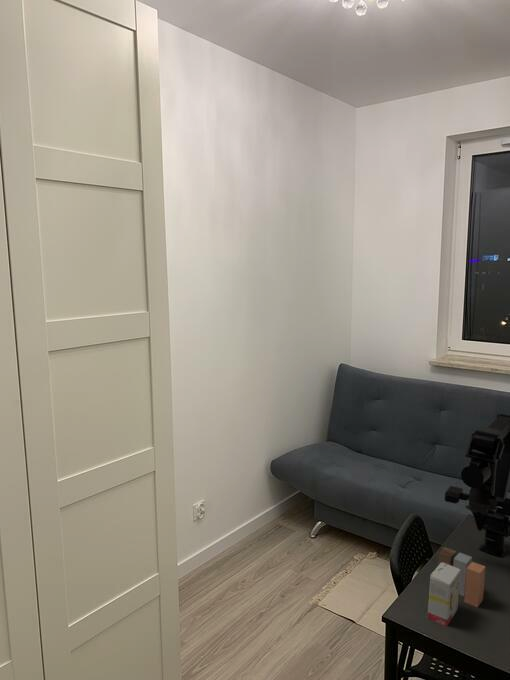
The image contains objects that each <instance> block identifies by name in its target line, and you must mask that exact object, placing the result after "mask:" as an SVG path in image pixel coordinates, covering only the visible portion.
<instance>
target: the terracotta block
mask: <svg viewBox="0 0 510 680" xmlns="http://www.w3.org/2000/svg"><path fill="white" fill-rule="evenodd" d="M485 578H486V566H485V565H482V564H479V563H477V562H474V561H472V563H471V564H470V565H469V566H468V567H467V572H466V586H465V596H464V600H463V601H464V603H466V604H469V605H471V606H472V607H476V608H479V606H480V605H481V603H482V602H483V600H484V590H485Z"/></svg>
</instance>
